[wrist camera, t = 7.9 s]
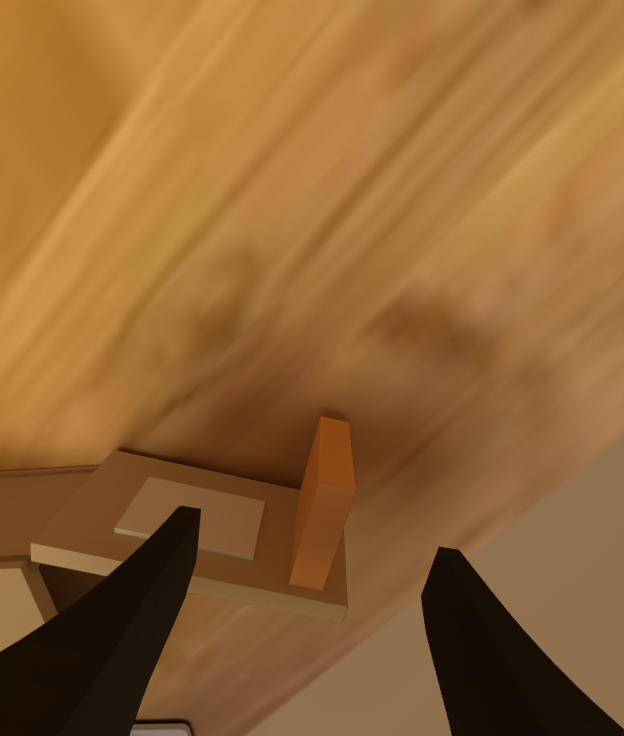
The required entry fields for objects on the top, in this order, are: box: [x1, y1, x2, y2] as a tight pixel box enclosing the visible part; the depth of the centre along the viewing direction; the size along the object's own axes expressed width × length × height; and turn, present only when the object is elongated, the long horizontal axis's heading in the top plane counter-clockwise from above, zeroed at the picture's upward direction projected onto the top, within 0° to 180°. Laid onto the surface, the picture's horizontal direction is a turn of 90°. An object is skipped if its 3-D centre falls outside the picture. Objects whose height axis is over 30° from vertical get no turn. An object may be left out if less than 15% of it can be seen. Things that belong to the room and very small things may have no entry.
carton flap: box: [31, 416, 356, 623], centre depth 16 cm, size 11×5×6 cm, turn 77°
